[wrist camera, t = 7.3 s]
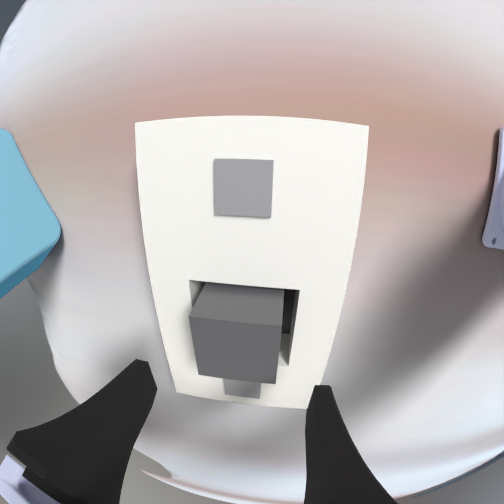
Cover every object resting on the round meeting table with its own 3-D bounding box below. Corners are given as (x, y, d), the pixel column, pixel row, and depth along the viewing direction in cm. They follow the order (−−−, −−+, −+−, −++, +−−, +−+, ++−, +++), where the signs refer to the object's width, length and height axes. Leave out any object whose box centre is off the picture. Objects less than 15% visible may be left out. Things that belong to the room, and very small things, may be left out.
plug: (285, 264, 16) (281, 325, 11) (281, 318, 18) (275, 384, 13) (217, 259, 17) (188, 316, 12) (220, 313, 18) (198, 374, 13)
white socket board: (352, 126, 12) (370, 126, 9) (311, 378, 20) (312, 411, 17) (162, 122, 13) (133, 123, 10) (188, 364, 21) (175, 394, 18)
